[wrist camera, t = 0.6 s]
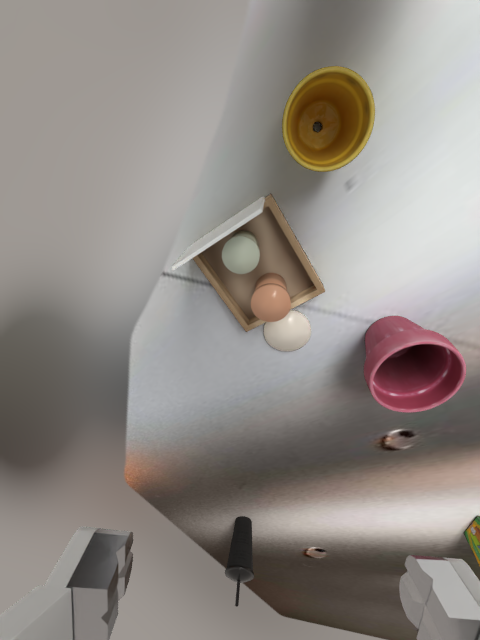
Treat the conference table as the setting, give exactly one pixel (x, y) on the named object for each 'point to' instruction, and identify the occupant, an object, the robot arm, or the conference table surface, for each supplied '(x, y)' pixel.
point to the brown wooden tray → (262, 265)
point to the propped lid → (221, 231)
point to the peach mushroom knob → (271, 298)
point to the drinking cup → (240, 554)
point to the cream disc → (288, 332)
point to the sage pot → (241, 252)
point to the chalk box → (474, 537)
